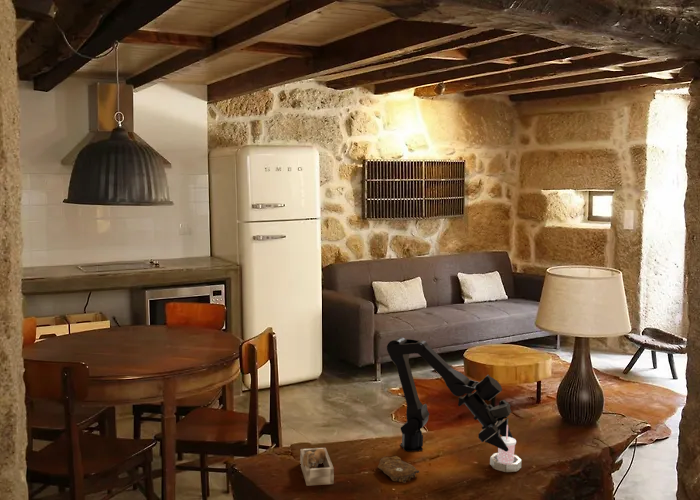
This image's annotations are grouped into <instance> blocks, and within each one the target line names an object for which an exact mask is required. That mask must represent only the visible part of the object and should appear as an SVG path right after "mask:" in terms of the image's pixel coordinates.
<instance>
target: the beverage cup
mask: <svg viewBox="0 0 700 500" xmlns="http://www.w3.org/2000/svg"><path fill="white" fill-rule="evenodd" d="M508 427H509V424H508V425H507V431H506V436H502V435H501V438H502V439H503V441H504V443H505V444H506V446H507V447H508V449H509V450H508V451H507V452H506V451H504V450H502V449H500V448H498V447H497V453H498V461H499V462H502V463H513V459H514V455H515V449H516V444H517V440H516V438H514V437H513V438H512V437H508Z"/></svg>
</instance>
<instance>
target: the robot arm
mask: <svg viewBox="0 0 700 500" xmlns="http://www.w3.org/2000/svg"><path fill="white" fill-rule="evenodd" d="M386 351H387V353H388V355H389V358H390V360H391V361H392V362H393V364H394V365H395V366H396V367H395V368H396V370H397V373H398V376H399V380H400V384H401V388H402V391H403V395H404V398H405V403H406V414H405V416H406V422H405V423H404V424H402V426H401V427H400V432H401V442H400V446H401V447H402V449H403V451H404V452H415V451H417V452H418V451H419V450H420V451H423V445H424V435H423V434H422V433H423V432H422V430H421V429H422V428H424V426H425V425H426V424H427V423H428V421H429V416H430V415H431V413H429V411H428V404H427V403H424V404H423V403H422V402H421V400H420V399H419V395H418V391H417V387H416V384H415V380H414V376H413V373H412V370H411V369H412V368H411V365H410V363H409V361H410V359H409V358H410V355H412V354H418V355H419V356H420V357H421V358H422V359H423V360H424V361H425V362H426V363H427V364H428V365H429V366H430V367H431V368H432V369H433V370H434V371H435V372H436V373H437V374H438V375H439V376H440V377H441V378H442V379H443V381H444V383H445V385H446V387H447V388H448V389H449V391H450V392H451V394H452V395H453V396H455V397H458V398H457V399H458V402H457V404H458V405H457V406H458V407H461V406H462V405H465V406H466V407H467V409H468V410H469V411H470V412H471V414H472V415H473V420H474V421H477V420H478V422H479V423H480V424H481V426H482V427H481V430H480V431H479V433H478V436H477V437H478V439H479V441H480V442H481V443H485V444H486V443H487V444H490V445H492V446H494V447H496V448H497V449H498V448H500V449H502V450H504V451H506V452H507V451H508V450H509V449H508V447H507V446H506V444H505V443H504V441H503V439H502V438H501V437H502V436H506V431H507V425H508V437H512V438H514V436H513V433H512V432H511V430H510V428H509V416H510V414H511V413H512V410H511V405H512V404H510V403H509V402H508V401H506V400H505V399H502V400H500V401H499V402H498V405H496V406H493V405H492V404H490V403H489V404H487V403H486V402H485V401H488V402H489V401H491V400H492V399H493V398H495V397H497V396H498V395H499V394H500V393H501V392H502V391H503V387H502V386H501V384H500V382H499V381H498V380H496V379H495V378H494V377H491V376H490V375H489V374H487V375H485V377H484V378H483V379H482V380H480V381H477V380H473V379H470V378H469V377H467V375H465V374H463V373H462V372H460V371H459V370H456V369H455V368H452V367H451V366H450V364H449V363H447V362H446V361H445V360H444V359H443V358H442V356H440V355H439V354H438V353H437V352H436V351H435V349H433V348H432V347H431V346H430V345H429V344H428V343H427V341H426V340H423V339H422V340H421V339H420V340H419V339H414V338H413V339H412V338H404V337H403V336H397V337H395V338H393V339H392V340H391V341H389V342H388V343H387V345H386Z"/></svg>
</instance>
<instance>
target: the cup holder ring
mask: <svg viewBox="0 0 700 500" xmlns="http://www.w3.org/2000/svg"><path fill="white" fill-rule="evenodd" d="M489 457H490V458H489V465H490V466H491V467H492V469H494V470H497V471H500V472H504V473H512V472H513V473H514V472H516V473H517V472H518V471H519V470H520V469H522V461H523V460H522V459H521V458H520V457H519V456H518V455H517V454H514V459H513V463H502V462H499V461H498V452H493V454H492V455H491V456H489Z"/></svg>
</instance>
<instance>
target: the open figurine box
mask: <svg viewBox="0 0 700 500" xmlns="http://www.w3.org/2000/svg"><path fill="white" fill-rule="evenodd" d="M317 449H324V450H325V452H326V455H325V462H324V463H323V460H322V459H320V460H319V464H320V465H321V464H322V463H323V464H322V465H323V467H317V468H311V469H310V468H309V466H306V465H305V467H304V465H303V455H304V453H305V452H307V451H311V452H315V451H316V450H317ZM299 451H300V453H299V454H300V457H299V461H300V462H299V463H300V464H301V465H300V468H301V471H302V475H303V478H304V482H305V485H306V486H307V487H308V486H309V487H310V486H321V485H322V486H323V485H334V482H335V481H334V478H335V475H334V474H335V471H334V470H335V468H334V466H333V463H332V460H331V458H330V455H329V453H328V450H327V448H326V447H315V448H314V447H313V448H311V447H310V448H300V450H299ZM319 464H318V465H319Z"/></svg>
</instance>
